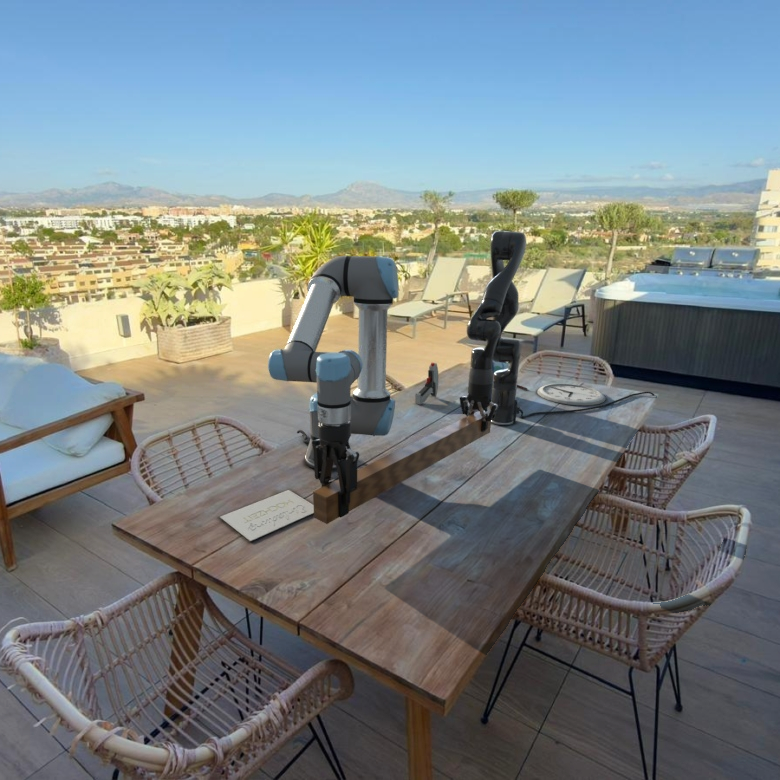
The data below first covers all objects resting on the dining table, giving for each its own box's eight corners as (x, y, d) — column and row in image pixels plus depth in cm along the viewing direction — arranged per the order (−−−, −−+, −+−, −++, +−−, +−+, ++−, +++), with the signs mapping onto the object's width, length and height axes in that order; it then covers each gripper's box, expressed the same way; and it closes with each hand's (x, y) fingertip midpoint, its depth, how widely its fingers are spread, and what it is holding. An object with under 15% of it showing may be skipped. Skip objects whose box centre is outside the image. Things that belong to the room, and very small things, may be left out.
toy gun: (414, 370, 220) (434, 361, 231) (415, 405, 226) (434, 395, 237) (419, 371, 219) (438, 362, 230) (419, 406, 225) (438, 396, 236)
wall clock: (618, 401, 228) (551, 402, 225) (618, 405, 228) (551, 406, 226) (588, 382, 256) (528, 382, 254) (587, 385, 257) (528, 385, 254)
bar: (478, 429, 180) (480, 410, 178) (490, 432, 178) (491, 413, 175) (313, 517, 124) (312, 491, 122) (326, 524, 121) (326, 497, 119)
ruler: (503, 382, 259) (503, 380, 259) (504, 382, 259) (504, 380, 259) (526, 390, 247) (526, 388, 247) (527, 390, 247) (527, 388, 247)
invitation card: (288, 489, 150) (320, 509, 140) (288, 490, 150) (320, 510, 140) (219, 516, 136) (250, 540, 125) (219, 517, 136) (250, 541, 126)
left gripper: (296, 416, 122) (300, 504, 129) (350, 435, 111) (351, 531, 118) (320, 408, 127) (322, 493, 135) (374, 426, 117) (373, 517, 124)
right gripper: (455, 378, 171) (452, 427, 176) (494, 387, 162) (490, 438, 167) (467, 373, 176) (464, 421, 182) (505, 382, 168) (501, 431, 173)
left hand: (336, 511), depth 126 cm, fingers closed on bar, 4 cm apart
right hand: (477, 429), depth 174 cm, fingers closed on bar, 4 cm apart
